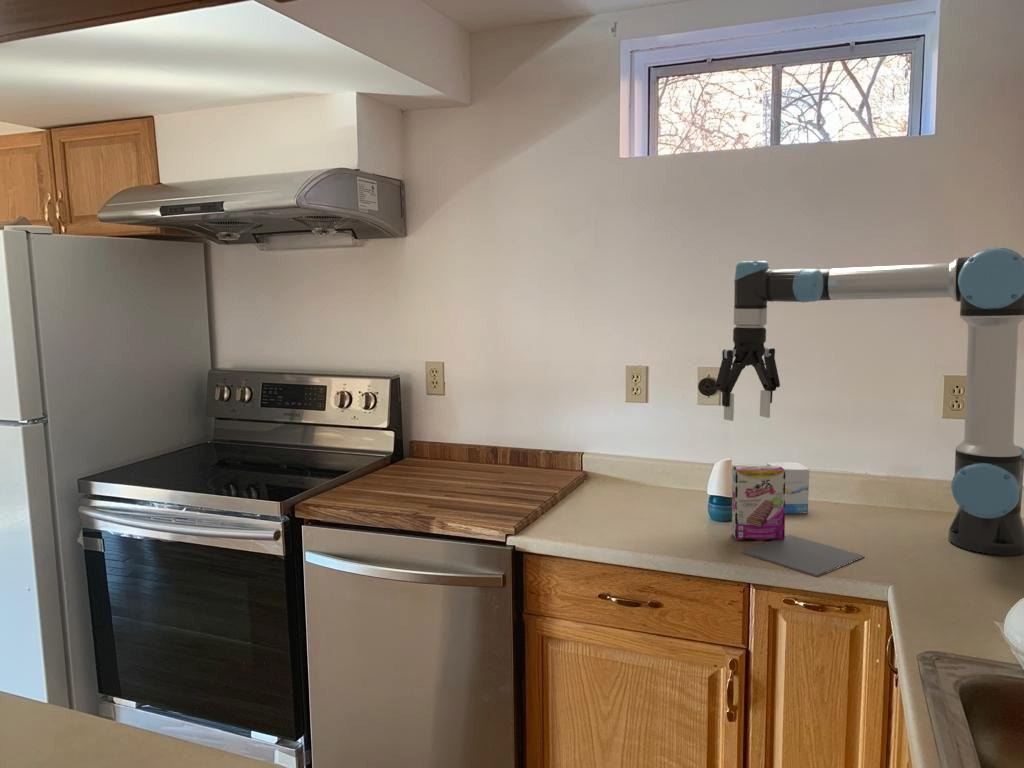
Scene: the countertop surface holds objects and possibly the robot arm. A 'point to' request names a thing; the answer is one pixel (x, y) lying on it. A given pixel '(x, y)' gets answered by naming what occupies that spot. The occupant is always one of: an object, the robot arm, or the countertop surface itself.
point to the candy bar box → (758, 502)
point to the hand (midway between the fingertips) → (746, 418)
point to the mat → (802, 555)
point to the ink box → (795, 486)
